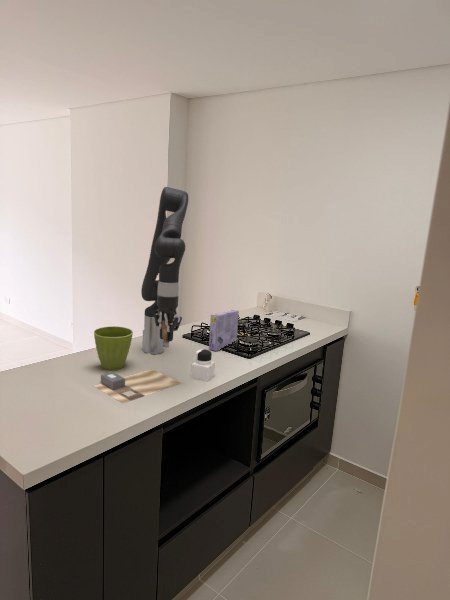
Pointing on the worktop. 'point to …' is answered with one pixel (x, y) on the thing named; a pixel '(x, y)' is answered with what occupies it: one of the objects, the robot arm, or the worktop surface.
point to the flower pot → (113, 346)
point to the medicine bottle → (203, 365)
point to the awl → (165, 334)
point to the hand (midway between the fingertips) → (166, 339)
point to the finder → (112, 380)
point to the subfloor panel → (140, 385)
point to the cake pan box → (223, 329)
